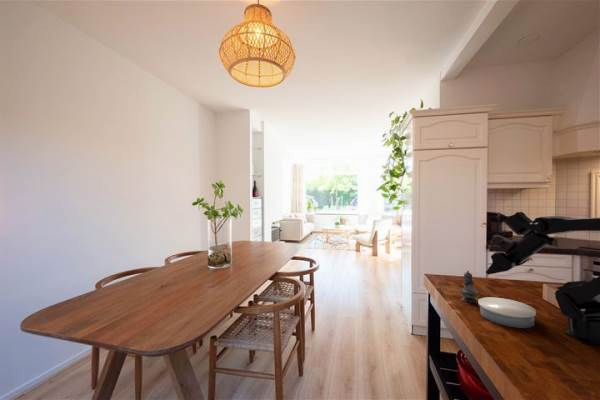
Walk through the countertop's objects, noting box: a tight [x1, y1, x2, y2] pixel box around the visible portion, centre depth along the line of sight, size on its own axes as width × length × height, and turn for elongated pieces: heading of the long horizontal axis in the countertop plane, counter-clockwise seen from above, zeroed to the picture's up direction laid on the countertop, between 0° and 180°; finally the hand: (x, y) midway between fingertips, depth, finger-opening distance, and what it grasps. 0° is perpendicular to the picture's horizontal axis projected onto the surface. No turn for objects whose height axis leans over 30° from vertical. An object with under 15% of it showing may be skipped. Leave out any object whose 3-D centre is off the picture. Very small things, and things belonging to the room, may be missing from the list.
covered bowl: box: [477, 296, 537, 329], centre depth 82 cm, size 15×15×4 cm
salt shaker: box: [460, 270, 479, 304], centre depth 97 cm, size 6×6×12 cm
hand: (492, 271), depth 91 cm, fingers open, 9 cm apart
